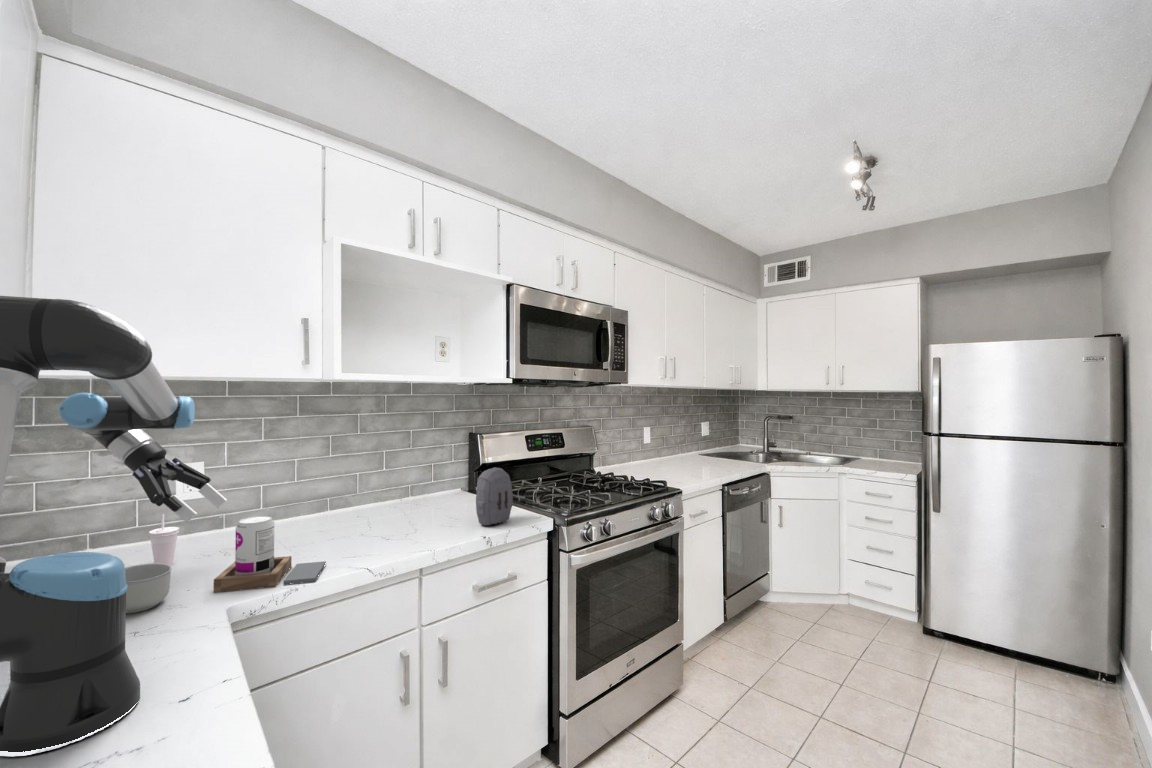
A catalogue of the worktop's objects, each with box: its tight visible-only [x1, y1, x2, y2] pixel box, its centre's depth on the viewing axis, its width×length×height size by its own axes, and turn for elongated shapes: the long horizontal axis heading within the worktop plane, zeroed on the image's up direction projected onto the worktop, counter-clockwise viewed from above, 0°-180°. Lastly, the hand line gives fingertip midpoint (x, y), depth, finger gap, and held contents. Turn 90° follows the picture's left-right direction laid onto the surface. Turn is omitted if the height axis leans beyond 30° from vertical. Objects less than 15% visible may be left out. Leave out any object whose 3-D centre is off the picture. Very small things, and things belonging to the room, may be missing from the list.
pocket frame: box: [213, 555, 292, 593], centre depth 123 cm, size 13×13×3 cm
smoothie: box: [148, 513, 180, 567], centre depth 132 cm, size 6×6×14 cm
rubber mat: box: [282, 560, 327, 585], centre depth 126 cm, size 12×7×1 cm, turn 16°
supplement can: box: [234, 515, 275, 576], centre depth 123 cm, size 8×8×15 cm
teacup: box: [125, 562, 173, 614], centre depth 106 cm, size 14×11×8 cm
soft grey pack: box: [475, 467, 514, 526], centre depth 173 cm, size 15×8×20 cm, turn 142°
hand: (208, 510), depth 121 cm, fingers open, 13 cm apart
